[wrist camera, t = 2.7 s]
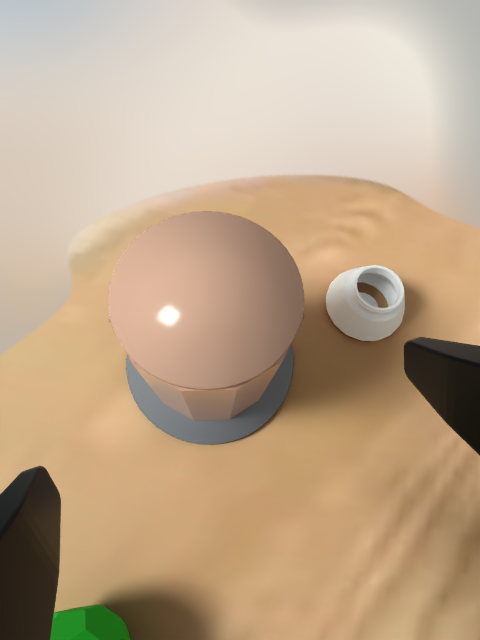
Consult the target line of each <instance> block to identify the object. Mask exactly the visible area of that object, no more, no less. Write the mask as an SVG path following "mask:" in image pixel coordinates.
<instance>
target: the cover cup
mask: <svg viewBox="0 0 480 640" xmlns="http://www.w3.org/2000/svg"><path fill="white" fill-rule="evenodd" d="M303 307H304V290H303V284H302V279H301V276H300V273H299V270H298V268H297V266H296V264H295V262H294V260H293V258H292V256H291V255H290V253H289V252H288V250H287V249H286V248H285V247H284V245H283V244H282V243H281V242H280V241H279V240H278V239H277V238H276V237H275V236H274V235H272V234H271V233H270V232H269V231H267V230H266V229H264V228H263V227H261V226H260V225H258V224H256V223H254V222H252V221H250V220H247V219H245V218H242V217H240V216H236V215H232V214H228V213H222V212H212V211H201V212H191V213H185V214H180V215H177V216H173V217H170V218H168V219H165V220H163V221H161V222H159V223H157V224H155V225H153V226H151V227H150V228H148V229H147V230H145V231H144V232H143V233H141V234H140V235H139V236H138V237H137V238H136V239H135V240H133V241H132V243H131V244H130V245H129V246H128V247H127V248H126V249H125V251H124V252H123V254H122V255H121V257H120V258H119V260H118V262H117V264H116V266H115V268H114V271H113V274H112V277H111V280H110V285H109V291H108V308H109V323H110V324H111V326H112V328H113V330H114V332H115V334H116V336H117V338H118V340H119V342H120V343H121V345H122V346H123V348H124V350H125V352H126V353H127V355H128V357H129V359H130V361H131V362H132V364H133V366H134V367H135V368H136V370H137V371H138V372H139V373H140V375H141V376H142V377H143V378H144V380H145V381H146V382H147V383H148V385H149V386H150V387H151V388H152V390H153V391H154V392H155V393H156V395H157V396H158V397H159V398H160V400H161V401H162V402H163V403H164V404H165V405H167V406H168V407H170V408H172V409H174V410H176V411H178V412H179V413H181V414H183V415H185V416H187V417H188V418H190V419H192V420H194V421H201V420H227V419H231V418H232V417H234V416H236V415H237V414H239V413H240V412H242V411H243V410H245V409H246V408H248V407H249V406H251V405H253V404H254V403H256V402H257V401H259V399H260V397H261V396H262V394H263V392H264V391H265V389H266V388H267V386H268V384H269V383H270V381H271V379H272V378H273V376H274V374H275V373H276V371H277V370H278V368H279V366H280V365H281V363H282V361H283V359H284V357H285V355H286V353H287V351H288V349H289V347H290V345H291V343H292V341H293V339H294V337H295V335H296V333H297V331H298V329H299V327H300V325H301V323H302V321H303V319H304V313H303Z"/></svg>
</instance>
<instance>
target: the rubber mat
mask: <svg viewBox="0 0 480 640" xmlns="http://www.w3.org/2000/svg"><path fill="white" fill-rule="evenodd" d="M126 371H127V378H128V383H129V386H130V390H131V393H132V395H133V397H134V399H135V401H136V403H137V405H138V406H139V408H140V409H141V411H142V412H143V413H144V414H145V416H146V417H147V418H148V419H149V420H150V421H151V422H152V423H153V424H154V425H156V426H157V427H158V428H159V429H161V430H162V431H164V432H166V433H167V434H169V435H171V436H173V437H175V438H177V439H180V440H183V441H187V442H190V443H196V444H212V445H213V444H222V443H227V442H231V441H235V440H237V439H240V438H242V437H245V436H247V435H249V434H250V433H252V432H254V431H256V430H257V429H258V428H260V427H261V426H262V425H264V424H265V423H266V422H267V421H268V420H269V419H270V418H271V417H272V416H273V415H274V414H275V412H276V411H277V410H278V408H279V407H280V405H281V404H282V402H283V400H284V398H285V396H286V394H287V391H288V389H289V386H290V382H291V378H292V372H293V353H292V347H291V345H290V347H289V349H288V351H287V353H286V355H285V357H284V359H283V361H282V363H281V365H280V366H279V368H278V370H277V371H276V373H275V374H274V376H273V378H272V379H271V381H270V383H269V384H268V386H267V388H266V389H265V391H264V392H263V394H262V396H261V397H260V399H259V401H257V402H256V403H254V404H253V405H251V406H249V407H248V408H246V409H245V410H243V411H242V412H240V413H239V414H237V415H236V416H234V417H232V418H231V419H227V420H201V421H194V420H192V419H190V418H188V417H187V416H185V415H183V414H181V413H179V412H178V411H176V410H174V409H172V408H170V407H168V406H167V405H165V404H164V403H163V402H162V401H161V400H160V398H159V397H158V396H157V395H156V393H155V392H154V391H153V390H152V388H151V387H150V386H149V385H148V383H147V382H146V381H145V380H144V378H143V377H142V376H141V375H140V373H139V372H138V371H137V370H136V368H135V367H134V366H133V364H132V362H131V361H130V359H129V357H128V355H127V359H126Z"/></svg>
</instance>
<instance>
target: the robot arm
mask: <svg viewBox="0 0 480 640" xmlns="http://www.w3.org/2000/svg"><path fill="white" fill-rule="evenodd" d="M404 369H405V373H406V375H407V377H408V379H409V380H410V381H411V382H412V383H413V384H414V386H415V387H416V388H417V389H418V390H419V392H420V393H421V394H422V395H423V396H424V397H425V399H426V400H427V401H428V402H429V403H430V405H431V406H432V407H433V408H434V409H435V410H436V412H437V413H438V414H439V415H440V416H441V417H442V418H443V420H444V421H445V422H446V423H447V424H448V425H449V426H450V427H451V428H452V429H453V430H454V431H455V432H456V433H457V434H458V435H459V436H460V437H461V438H462V439H463V440H464V441H465V442H466V443H467V444H468V445H470V446H471V447H472V448H473V449H474V450H475V451H476V452H477V453H478V454H479V455H480V346H477V345H470V344H464V343H457V342H450V341H444V340H437V339H431V338H424V337H418V338H415V339H412V340H409V341H407V342H406V343H405V345H404ZM60 521H61V498H60V494H59V491H58V489H57V488H56V486H55V484H54V482H53V480H52V479H51V477H50V475H49V473H48V472H47V470H46V469H45V468H44V467H43V466H37V467H34V468H31V469H29V470H26V471H23V472H21V473H20V474H19V475H18V476H17V477H16V479H15V480H14V481H13V482H12V483H11V484H10V485H9V486H8V487H7V488H6V489H5V490H4V491H3V492H2V493H1V494H0V640H50V638H51V630H52V623H53V616H54V608H55V601H56V593H57V586H58V577H59V563H60Z"/></svg>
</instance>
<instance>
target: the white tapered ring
mask: <svg viewBox="0 0 480 640" xmlns="http://www.w3.org/2000/svg"><path fill="white" fill-rule="evenodd" d="M357 282H361V283H366V284H369V285H372V286H374V287H375V288H376V289H378V290H379V291H380V292H381V293H382V294H383V295H384V297H385V299H386V300H387V302H388V307H387V308H378V304H377V302H376V300H375V299H374V298H373V297H372V296H371V295H369V294H367V293H362V292H358V289H357ZM326 306H327V312H328V314H329V316H330V318H331V319H332V321H333V323H334V325H335V326H337V327H338V328H339V329H340V330H341V331H342V332H343V333H345V334H346V335H348V336H350V337H353V338H355V339H358V340H361V341H378V340H380V339H383V338H385V337H387V336H390V335H391V334H392V333H393V332H394V331H395V330H396V329H397V328H398V327H399V325H400V324H401V323H402V319H403V315H404V311H405V299H404V287H403V284H402V281H401V280H400V278H399V277H398V276H397V275H396V274H395V273H394V272H393V271H392V270H390V269H388V268H386V267H383V266H378V265H372V266H367V267H359V268H353V269H351V270H348V271H345V272H343V273H340V274H339V275H338V276H337V277H336V278H335V279H334V280H333V281H332V282H331V284H330V286H329V289H328V292H327V295H326Z"/></svg>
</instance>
